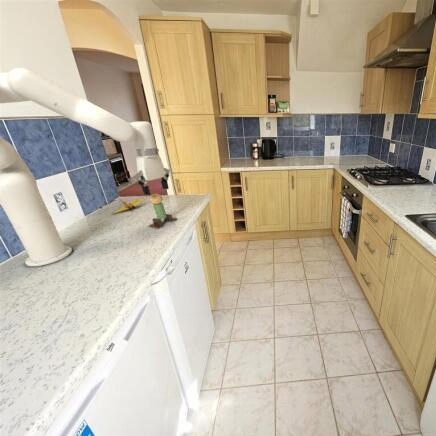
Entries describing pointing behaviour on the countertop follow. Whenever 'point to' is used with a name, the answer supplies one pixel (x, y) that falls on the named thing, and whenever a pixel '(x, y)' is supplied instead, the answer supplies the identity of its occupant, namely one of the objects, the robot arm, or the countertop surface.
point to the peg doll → (158, 205)
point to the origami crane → (128, 205)
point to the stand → (158, 223)
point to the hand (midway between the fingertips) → (156, 191)
